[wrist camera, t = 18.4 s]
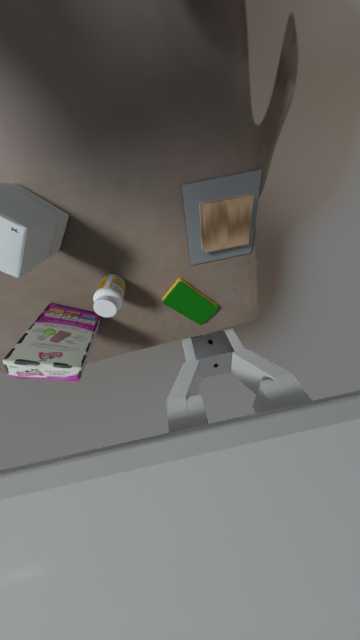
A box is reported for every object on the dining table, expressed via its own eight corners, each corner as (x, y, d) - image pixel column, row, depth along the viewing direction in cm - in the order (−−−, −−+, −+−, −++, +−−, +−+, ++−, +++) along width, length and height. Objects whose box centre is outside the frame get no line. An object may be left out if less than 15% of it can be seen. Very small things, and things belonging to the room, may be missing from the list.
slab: (202, 204, 27) (254, 194, 27) (199, 203, 29) (247, 194, 29) (204, 252, 32) (248, 244, 33) (201, 249, 34) (242, 240, 35)
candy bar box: (50, 318, 40) (5, 377, 27) (50, 302, 37) (-1, 359, 25) (99, 327, 44) (79, 383, 31) (102, 313, 41) (81, 368, 29)
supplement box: (16, 181, 25) (-71, 176, 15) (70, 215, 28) (29, 229, 18) (10, 226, 28) (-65, 247, 18) (59, 251, 31) (19, 280, 22)
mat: (181, 185, 28) (181, 185, 27) (260, 169, 28) (262, 169, 27) (190, 264, 37) (190, 265, 36) (250, 252, 37) (251, 252, 36)
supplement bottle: (103, 294, 38) (92, 320, 31) (99, 272, 35) (85, 295, 27) (127, 295, 39) (122, 320, 32) (125, 274, 36) (119, 296, 28)
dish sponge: (178, 276, 38) (180, 280, 37) (216, 303, 45) (219, 308, 43) (161, 297, 41) (162, 302, 40) (199, 320, 48) (201, 325, 46)
